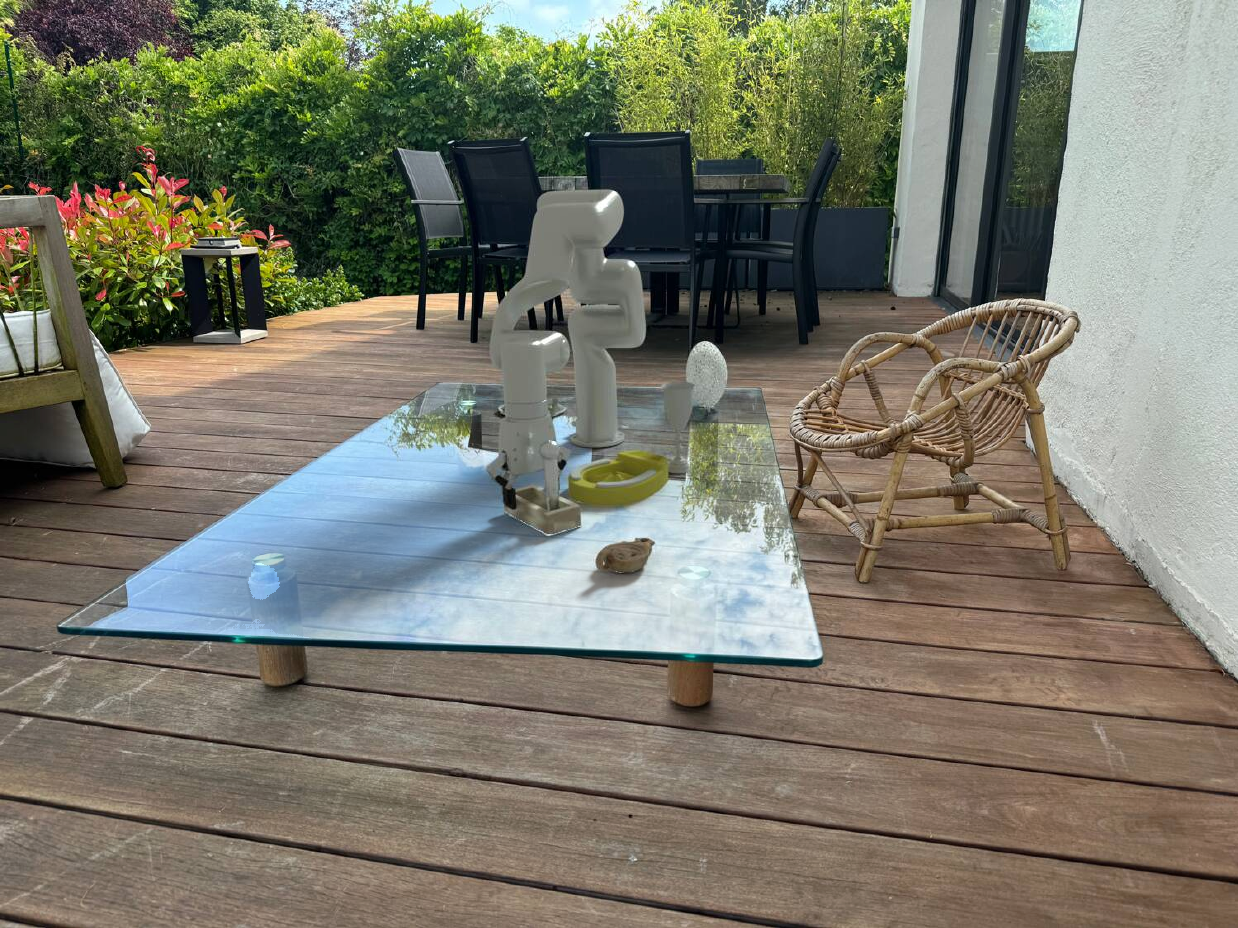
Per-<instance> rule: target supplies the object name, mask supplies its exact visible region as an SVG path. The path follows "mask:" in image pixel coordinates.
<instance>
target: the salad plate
mask: <svg viewBox="0 0 1238 928" xmlns="http://www.w3.org/2000/svg"><path fill="white" fill-rule="evenodd" d="M547 397H548V398H550V397H549V395H548V394H547ZM551 399H552V400H553V404H552V405H550V406H549V407H548V413H550V414H551V417H553V418H555V417H557V416H559V415H561V414H562V413H564V412H566V410H567V407H565V406H564V405H562V404H559V399H557V398H551ZM504 408H505V405H504V404H501V405H499V406H498V407H497V411H499V412H502V413H503V412H505V410H504ZM503 410H504V411H503ZM499 412H498V413H499ZM503 414H505V413H503ZM554 416H555V417H554Z"/></svg>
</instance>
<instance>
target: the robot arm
mask: <svg viewBox="0 0 1238 928" xmlns="http://www.w3.org/2000/svg"><path fill="white" fill-rule="evenodd" d="M536 209H537V211H536V213H535V214H534V217H533V222H532V227H531V233H530V239H529V247H528V255H527V260H526V265H525V273H524V276H523V277H522V279H521V280H520V281H518V282H517V283H516V284H515V285H514V286H513V287H512V288H510V289H509V291H508V292H507V294H506V295H505V296H504V298H503V299H501V301H500V303H499V305H498V307H497V308H496V310H495V312H494V317H493V322H492V329H491V334H490V339H489V341H490V342H489V357H490V360H491V363H492V365H493V367H494V368H496V369H497V370H499V371H501V375H502V388H503V390H502V391H503V401H504V402H503V405H505V416H504V417H502V418H501V419H500V423H499V424H500V425H499V431H498V456H497V457H496V458H495V459H494V460H493V461H492V462H491V463H489V465H488V466H487V467H486V472H487V474H488V475H489V476H490V477H491V478H492V480H493V481H494V482H495V483H497V484H498V485H499V486H500V487H501V489H502V490H501V491H502V493H501V494H502V503H503V505H504V504H505V506H506V507H508V508H510V509H512V510H515V509H516V508H517V505H516V491H515V489H516V488H514V487H513V486H514V485H515V482H516V481H517V479H518V477H519V476H522V475H527V474H528V475H529V474H532V473H536V472H539V471H544V463H543V458H542V457H541V455H540V453H539V448H540V446H541V444H542V443H543V442H544V441H547V440H553V441H555V442H557V443H558V441H557V434H556V431H555V425H554V421H553V418H552V417H551V414H550V413H548V407H549V406H550V405H552V404H553V400H552V399H553V398H551V397H549V396H548V397H549V398H548V397H547V395H548V391H547V389H548V388H547V376H546V375H549V374H554V373H557V372H559V371H562V369H564V368H565V366H566V365H567V363H568V362H569V360H570V356H571V354H570V353H571V350H572V357H573V368H574V373H573V374H574V391H575V392H574V393H575V413H576V415H575V416H576V418H575V420H572V421H571V426H572V427H574V428H575V433H574V432H573V434H571V437H570V441H571V443H572V444H573V445H575V446H578V447H581V448H583V447H584V448H607V447H613V446H616V445H620V444H621V443H622V442H624V441H625V433H624V432H622V431H620V430H618V429H619V428H618V401H617V400H618V399H617V396H618V395H617V373H616V372H617V369H616V365H615V362H614V360H613V358H612V357H611V355H610V354H609V353H608V351H607V349H609V348H610V349H632V348H634V349H635V348H638V347H641V345H642V344H644V341H645V338H646V333H647V323H646V313H645V312H646V310H645V304H644V303H645V302H644V301H645V300H644V292H643V282H642V275H641V271H640V269H639V266H638V265H637V264H636V262H635V261H633V260H630V259H627V258H626V259H624V258H621V259H620V258H616V259H615V258H611V259H610V258H606V257H605V253H604V248H605V247H606V246H607V245H609V243H610V242H611V241H612V240H613V238H614V237H615V236H616V235H617V233H618V232H619V230H620V229H621V227H622V224H623V221H624V220H623V219H624V214H625V212H624V211H625V208H624V203H623V200H622V197H621V195H620V194H619V193H618V192H617V191H615V190H613V189H588V190H587V189H583V190H582V189H579V190H578V189H569V190H566V189H565V190H553V191H547V192H545V193H542V194H541V195H540V196H539V197H538V198H537V202H536ZM567 290H569V292H570V295H571V298H572V299H573V300H574V301H575V302H577V303H579V304H585V305H580V306H577V307H575V308H574V309H572V311H571V312H570V313H569V316H568V319H567V329H568V330H567V331H568V333H569V335H568V336H569V339H570V344H571V349H570V344H569V341H568V338H566V336H565V335H564V334H562V333H561V332H558V331H554V330H553V331H552V330H531V329H530V330H525V329H524V330H522V329H521V330H519V329H515V326H516V323H517V322H518V321H519V319H520V318H521V317H522V316H523V315H524V314H525V313H526V312H527V311H530V310H531V309H532V308H534V307H536V306H539V305H540V304H543V303H545V302H547V301H549V300H552V299H554V298H556V297H557V296H560V295H562V294H563V293H565V292H567ZM514 329H515V330H514ZM558 445H559V447H560V454H559V456H558V458H557V463H558V482H559V491H560V490H561V488H560V487H561V486H560V484H561V483H560V477H561V476H562V475H563V472H562V471H563V470H564V469H565V467H566V466H567V461H568V459H569V457H570V455H571V452H572V451H571V450H570V448H567V447H565V446H562V445H560V444H558ZM499 469H500V470H501V471H503V472H502V475H501V474H500V472H499Z"/></svg>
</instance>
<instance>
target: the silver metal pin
mask: <svg viewBox="0 0 1238 928" xmlns="http://www.w3.org/2000/svg"><path fill="white" fill-rule="evenodd" d="M559 445H560V444H559V443H558V441H557V442H555V441H553V440H547V441H544V442H543V443H542V444H541V446H540V448H539V453H540V455H541V457H542V458H543V463H544V470H543V474H544V475H543V476H544V477H543V478H544V489H545V496H546V510H547V511H549V512H550V511H553V510H557V509H560V500H559V496H560V490H559V484H560V481H559V482H558V463H557V458H559V455H560V447H559Z"/></svg>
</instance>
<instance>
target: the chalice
mask: <svg viewBox="0 0 1238 928" xmlns="http://www.w3.org/2000/svg"><path fill="white" fill-rule="evenodd" d="M660 386H661V388H662V390H663V410H664V413H665V416H666V419H667V421H668V422H669V426H670V427H671V429H673V430H675V433H676V434H675V438H674V440H675V446H674V449H675V451H676V453H675V456H674V457H672V458H671V459H670V460H669V462H668V473H672V474H686V473H689V472H691V467H690V464H689V463H688V460H687V458H685V457H683V456H682V454H681V452H682V449H683V447H684V446H682V440H683V437H682V434H681V433H682V430H683V429H685V428H686V426H687V424H688V422H689V420H690V418H691V415H692V411H693V398H692V393H693V389H694V386H695V385H694V384H693V383H690V382H687V381H669V382H665V383H663V384H661V385H660Z"/></svg>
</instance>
